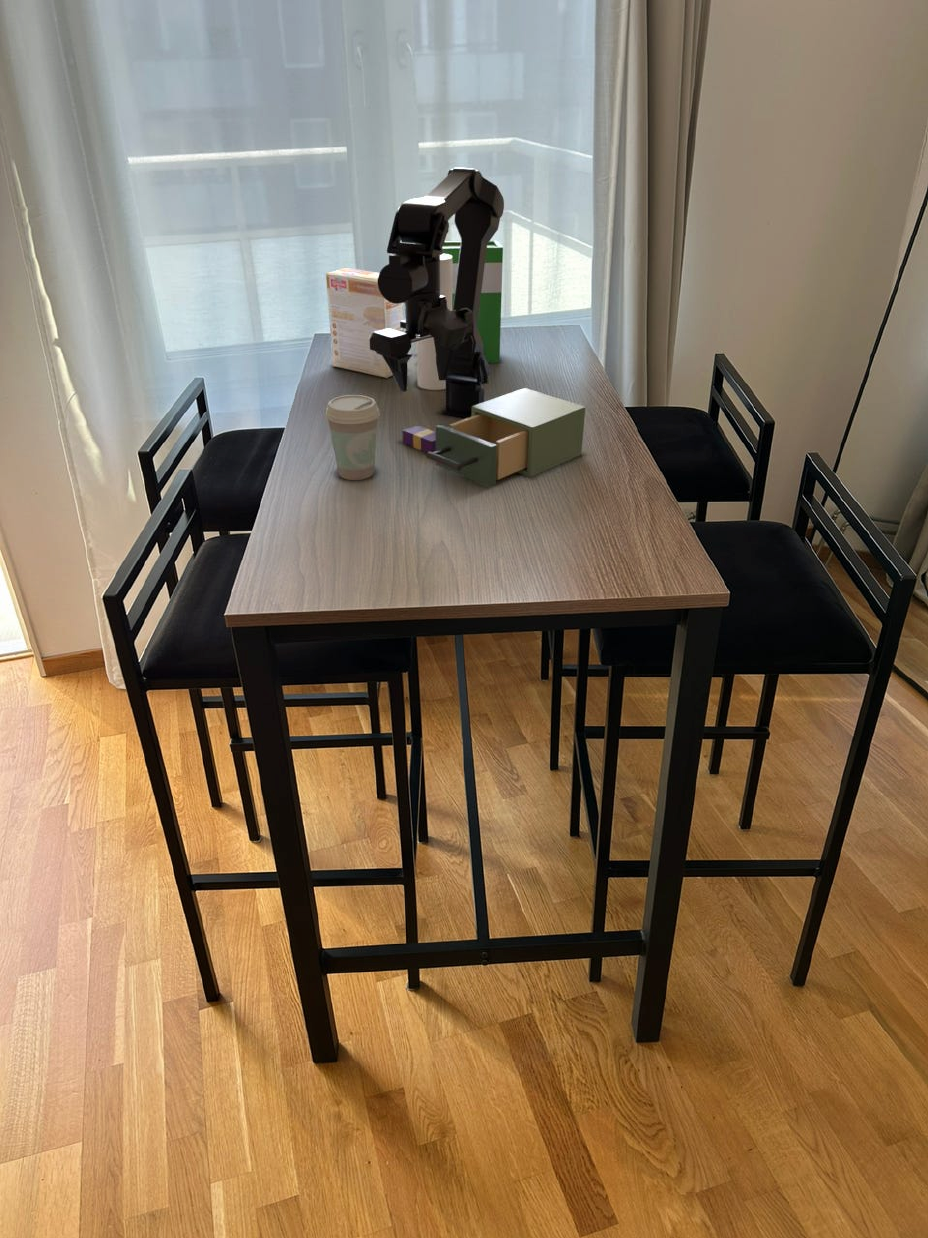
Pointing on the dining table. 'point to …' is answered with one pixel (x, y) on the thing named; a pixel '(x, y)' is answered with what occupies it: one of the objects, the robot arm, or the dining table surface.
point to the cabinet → (540, 426)
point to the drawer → (481, 449)
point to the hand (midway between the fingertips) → (423, 384)
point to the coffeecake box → (359, 320)
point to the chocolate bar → (420, 438)
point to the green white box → (485, 295)
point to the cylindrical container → (426, 347)
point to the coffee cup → (353, 434)
